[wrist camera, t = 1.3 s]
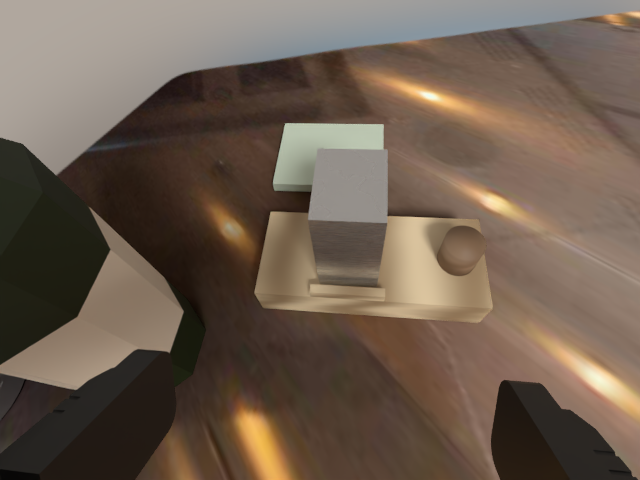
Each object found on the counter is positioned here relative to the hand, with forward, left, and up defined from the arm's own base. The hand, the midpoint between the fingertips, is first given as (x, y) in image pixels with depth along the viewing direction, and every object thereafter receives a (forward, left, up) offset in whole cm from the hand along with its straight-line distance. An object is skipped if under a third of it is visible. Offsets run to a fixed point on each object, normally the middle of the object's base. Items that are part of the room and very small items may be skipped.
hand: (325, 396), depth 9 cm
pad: (-2, +23, -16) cm, 29 cm away
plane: (+2, +11, -16) cm, 20 cm away
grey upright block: (0, +11, -14) cm, 18 cm away
